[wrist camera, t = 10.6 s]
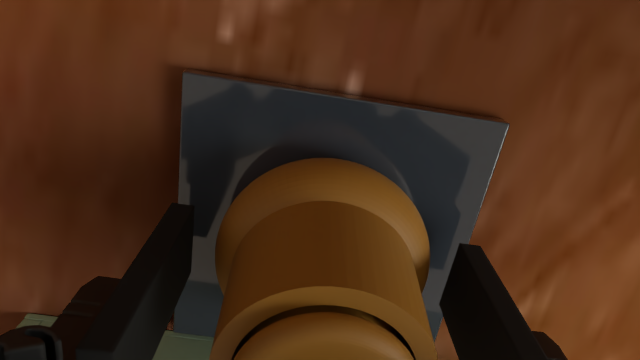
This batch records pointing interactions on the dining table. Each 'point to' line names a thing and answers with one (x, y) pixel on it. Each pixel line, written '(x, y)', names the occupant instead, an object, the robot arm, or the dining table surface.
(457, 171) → the slate tile
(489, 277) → the robot arm
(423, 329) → the ornamental finial
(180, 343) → the tote
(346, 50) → the dining table surface
